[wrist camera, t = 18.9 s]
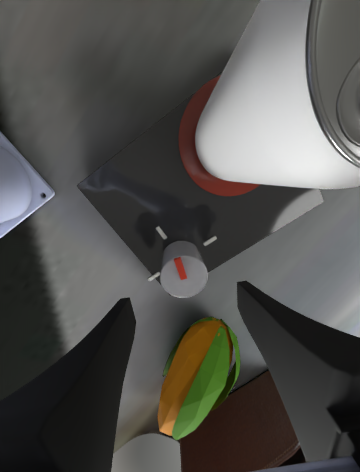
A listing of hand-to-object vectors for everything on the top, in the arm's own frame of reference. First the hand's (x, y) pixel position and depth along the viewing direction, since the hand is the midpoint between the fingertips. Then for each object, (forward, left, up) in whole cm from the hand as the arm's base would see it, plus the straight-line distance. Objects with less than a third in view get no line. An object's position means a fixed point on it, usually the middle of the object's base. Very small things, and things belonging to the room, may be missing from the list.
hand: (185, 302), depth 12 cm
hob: (+6, +4, -9) cm, 11 cm away
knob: (0, 0, -6) cm, 6 cm away
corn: (-8, -15, -9) cm, 20 cm away
